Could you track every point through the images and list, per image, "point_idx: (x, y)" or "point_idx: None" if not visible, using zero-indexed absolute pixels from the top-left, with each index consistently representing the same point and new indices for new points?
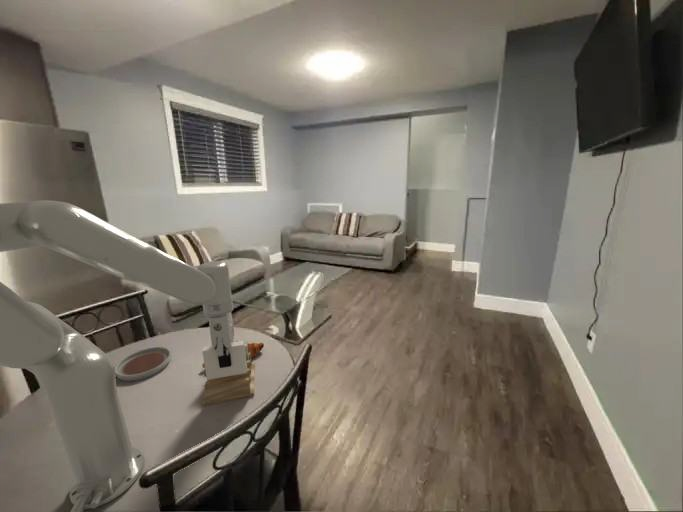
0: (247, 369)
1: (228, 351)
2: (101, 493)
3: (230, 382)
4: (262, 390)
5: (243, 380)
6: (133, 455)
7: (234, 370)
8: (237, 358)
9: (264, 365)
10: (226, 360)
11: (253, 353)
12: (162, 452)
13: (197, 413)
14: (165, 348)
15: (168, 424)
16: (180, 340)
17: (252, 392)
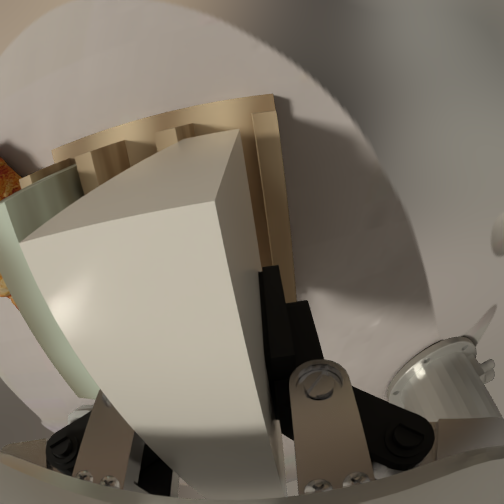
0: (165, 143)
1: (314, 401)
2: (484, 367)
3: (283, 222)
4: (240, 61)
5: (279, 145)
6: (442, 371)
7: (253, 222)
8: (249, 234)
9: (63, 101)
10: (317, 337)
11: (8, 174)
12: (425, 324)
13: (326, 296)
14: (70, 423)
15: (345, 350)
16: (28, 393)
17: (270, 100)
